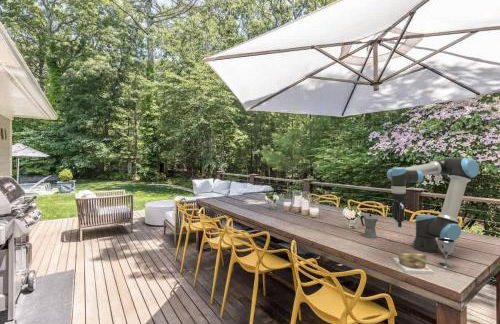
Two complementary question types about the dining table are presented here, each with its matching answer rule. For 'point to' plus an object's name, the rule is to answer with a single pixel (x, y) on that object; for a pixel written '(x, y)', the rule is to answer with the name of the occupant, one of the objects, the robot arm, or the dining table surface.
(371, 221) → the coffeepot
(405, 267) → the base plate
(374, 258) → the dining table surface
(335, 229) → the dining table surface
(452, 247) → the wine glass
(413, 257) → the capstan dial
